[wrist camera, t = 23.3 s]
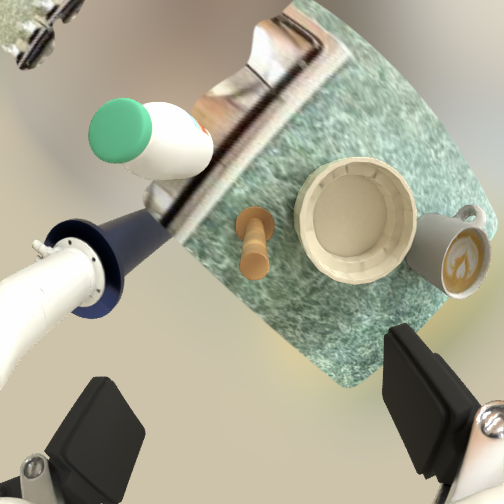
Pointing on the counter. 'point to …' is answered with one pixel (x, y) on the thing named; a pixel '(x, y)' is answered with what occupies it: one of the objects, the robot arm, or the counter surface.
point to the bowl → (355, 219)
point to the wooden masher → (254, 241)
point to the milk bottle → (150, 139)
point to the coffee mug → (452, 251)
